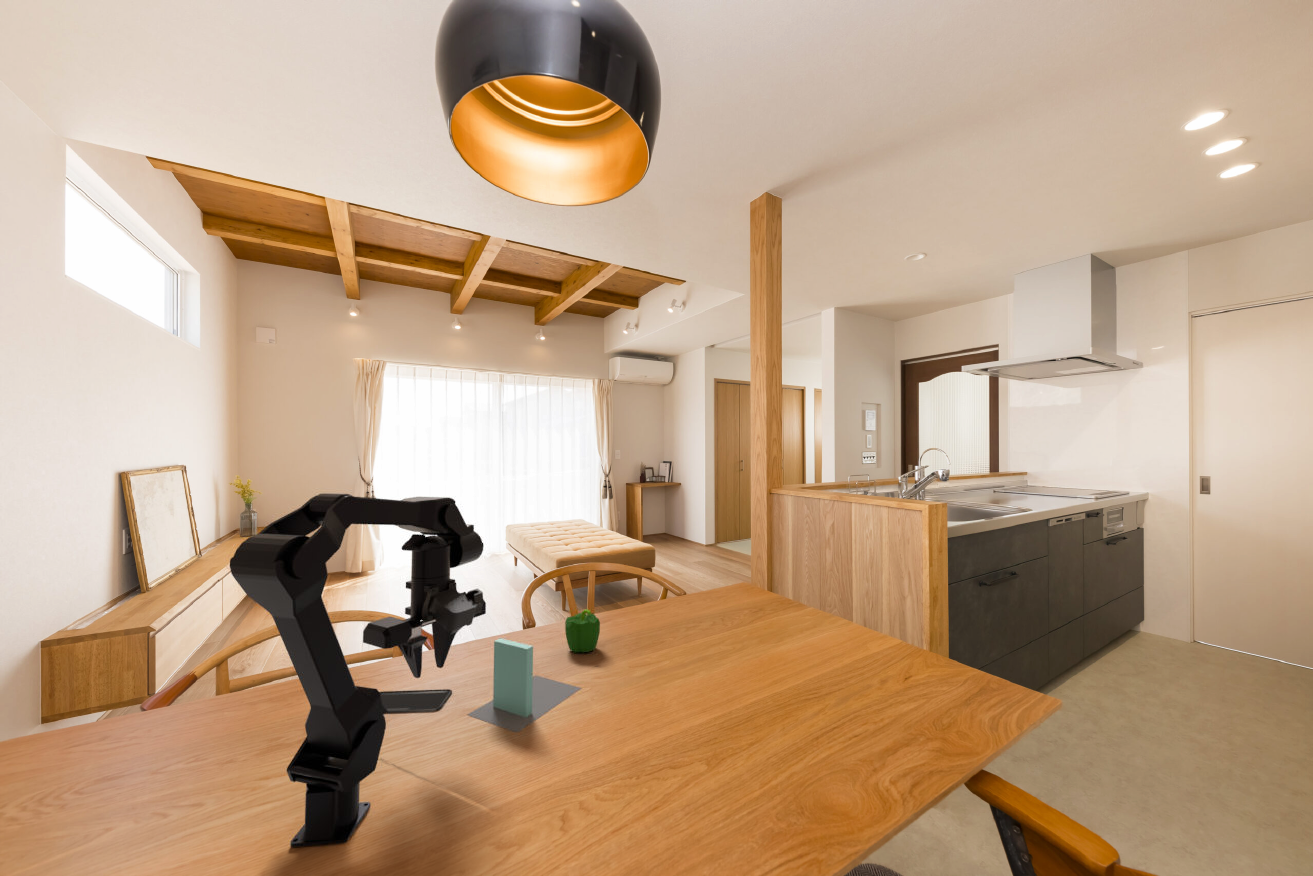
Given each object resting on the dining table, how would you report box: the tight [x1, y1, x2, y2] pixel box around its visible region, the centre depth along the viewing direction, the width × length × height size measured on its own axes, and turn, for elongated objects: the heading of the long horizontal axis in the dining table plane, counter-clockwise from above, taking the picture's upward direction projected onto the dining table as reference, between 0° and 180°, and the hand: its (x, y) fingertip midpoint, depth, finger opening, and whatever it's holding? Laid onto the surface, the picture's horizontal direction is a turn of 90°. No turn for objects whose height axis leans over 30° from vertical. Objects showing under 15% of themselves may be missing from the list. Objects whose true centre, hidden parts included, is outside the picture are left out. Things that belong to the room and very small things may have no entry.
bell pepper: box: [564, 608, 601, 653], centre depth 119 cm, size 8×8×10 cm
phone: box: [379, 688, 453, 714], centre depth 92 cm, size 8×1×15 cm
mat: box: [466, 675, 582, 734], centre depth 93 cm, size 18×12×1 cm, turn 152°
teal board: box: [492, 638, 534, 718], centre depth 90 cm, size 2×8×12 cm, turn 62°
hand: (428, 672), depth 79 cm, fingers open, 4 cm apart
